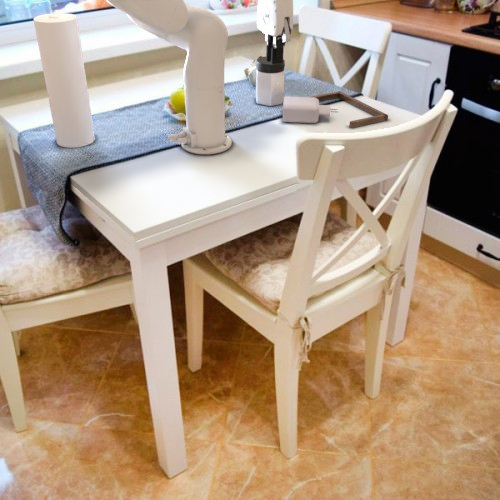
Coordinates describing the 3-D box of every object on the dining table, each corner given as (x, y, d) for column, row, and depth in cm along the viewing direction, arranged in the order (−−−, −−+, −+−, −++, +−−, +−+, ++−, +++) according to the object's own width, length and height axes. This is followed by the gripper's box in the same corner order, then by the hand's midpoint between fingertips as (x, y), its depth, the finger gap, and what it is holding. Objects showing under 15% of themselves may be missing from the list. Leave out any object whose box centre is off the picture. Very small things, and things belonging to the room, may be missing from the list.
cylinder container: (61, 150, 144) (37, 21, 127) (53, 136, 151) (29, 13, 134) (99, 143, 147) (81, 17, 131) (89, 130, 154) (70, 9, 138)
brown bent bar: (351, 128, 157) (352, 122, 156) (305, 102, 173) (305, 97, 173) (387, 120, 162) (388, 115, 161) (339, 95, 178) (339, 91, 178)
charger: (337, 125, 159) (282, 123, 159) (336, 113, 166) (283, 111, 167) (339, 108, 156) (282, 106, 157) (337, 96, 164) (283, 94, 164)
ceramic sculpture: (242, 60, 177) (244, 50, 190) (242, 89, 182) (244, 77, 194) (278, 61, 177) (277, 51, 190) (277, 90, 181) (276, 78, 194)
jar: (264, 108, 169) (265, 66, 162) (249, 99, 175) (249, 59, 168) (289, 102, 173) (291, 61, 166) (273, 94, 179) (275, 54, 172)
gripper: (246, -21, 142) (246, 56, 153) (280, -10, 131) (277, 72, 141) (273, -24, 146) (271, 52, 156) (308, -13, 134) (304, 68, 144)
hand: (274, 61), depth 148 cm, fingers closed
